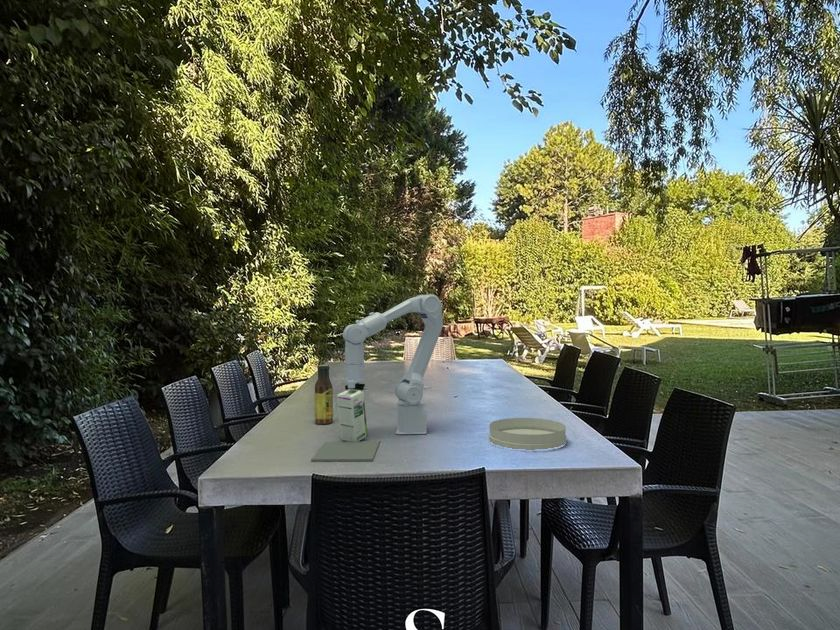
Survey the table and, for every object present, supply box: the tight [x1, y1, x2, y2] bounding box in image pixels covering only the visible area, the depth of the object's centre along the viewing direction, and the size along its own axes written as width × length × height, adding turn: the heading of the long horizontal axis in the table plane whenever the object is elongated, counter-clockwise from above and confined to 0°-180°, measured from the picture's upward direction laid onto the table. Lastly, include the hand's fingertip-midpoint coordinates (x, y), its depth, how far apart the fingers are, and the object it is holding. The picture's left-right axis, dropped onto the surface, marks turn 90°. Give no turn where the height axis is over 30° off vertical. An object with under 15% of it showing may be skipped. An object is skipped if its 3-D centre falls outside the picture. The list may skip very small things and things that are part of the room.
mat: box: [310, 440, 381, 463], centre depth 151 cm, size 16×18×1 cm
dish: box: [488, 417, 567, 450], centre depth 159 cm, size 22×22×5 cm
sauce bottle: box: [314, 364, 334, 425], centre depth 188 cm, size 6×6×20 cm
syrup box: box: [336, 389, 368, 442], centre depth 162 cm, size 6×6×14 cm
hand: (355, 408), depth 167 cm, fingers closed
